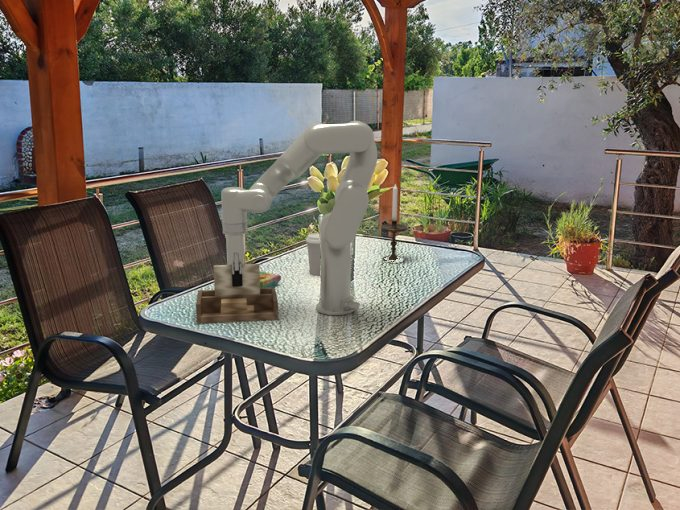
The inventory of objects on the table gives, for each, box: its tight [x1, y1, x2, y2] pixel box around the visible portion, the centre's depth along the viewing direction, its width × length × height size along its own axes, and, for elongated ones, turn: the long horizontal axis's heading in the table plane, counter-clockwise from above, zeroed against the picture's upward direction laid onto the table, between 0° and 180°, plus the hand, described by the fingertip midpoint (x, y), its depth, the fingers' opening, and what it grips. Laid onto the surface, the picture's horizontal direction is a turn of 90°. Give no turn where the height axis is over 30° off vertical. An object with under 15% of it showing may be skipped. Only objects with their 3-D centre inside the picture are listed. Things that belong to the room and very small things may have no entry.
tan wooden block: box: [221, 298, 254, 315], centre depth 199 cm, size 10×5×5 cm, turn 99°
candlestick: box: [380, 177, 408, 262], centre depth 265 cm, size 11×11×35 cm
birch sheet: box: [213, 263, 260, 296], centre depth 204 cm, size 14×2×14 cm, turn 99°
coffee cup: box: [305, 232, 321, 277], centre depth 248 cm, size 10×10×15 cm
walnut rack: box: [195, 286, 279, 325], centre depth 201 cm, size 24×14×7 cm, turn 99°
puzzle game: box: [259, 270, 282, 288], centre depth 230 cm, size 12×5×20 cm
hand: (237, 284), depth 204 cm, fingers closed on birch sheet, 1 cm apart
